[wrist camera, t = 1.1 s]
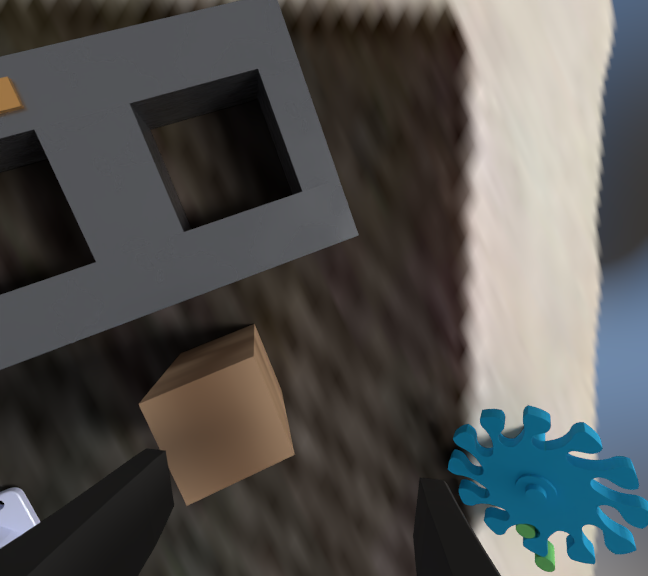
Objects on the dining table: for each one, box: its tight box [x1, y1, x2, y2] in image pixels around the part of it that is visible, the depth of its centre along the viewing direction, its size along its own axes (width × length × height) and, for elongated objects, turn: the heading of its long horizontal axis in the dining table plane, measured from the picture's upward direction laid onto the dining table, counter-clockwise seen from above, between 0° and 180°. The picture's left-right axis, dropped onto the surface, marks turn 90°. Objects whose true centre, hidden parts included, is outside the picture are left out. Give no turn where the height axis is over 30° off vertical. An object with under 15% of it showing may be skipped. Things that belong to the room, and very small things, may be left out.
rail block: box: [0, 0, 358, 370], centre depth 16 cm, size 20×12×3 cm, turn 110°
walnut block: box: [139, 324, 294, 505], centre depth 16 cm, size 4×4×7 cm
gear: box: [448, 405, 648, 572], centre depth 22 cm, size 11×6×10 cm
